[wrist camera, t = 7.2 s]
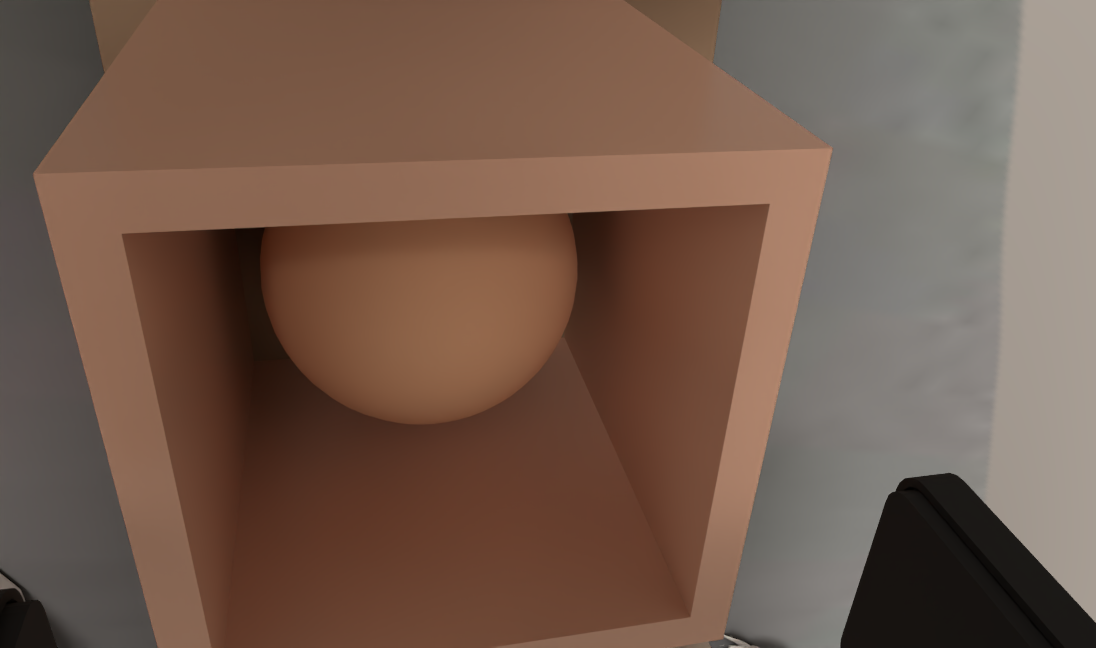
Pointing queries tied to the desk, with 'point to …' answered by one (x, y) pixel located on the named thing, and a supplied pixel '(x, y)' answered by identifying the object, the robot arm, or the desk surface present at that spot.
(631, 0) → the board
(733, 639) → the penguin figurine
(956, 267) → the desk surface
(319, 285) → the ball
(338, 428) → the orange open box
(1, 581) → the white cup
